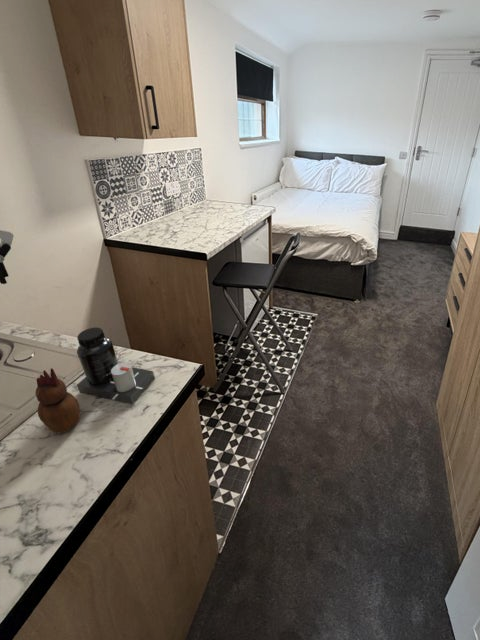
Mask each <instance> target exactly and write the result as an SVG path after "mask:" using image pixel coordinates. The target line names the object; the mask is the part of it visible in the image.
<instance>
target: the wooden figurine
mask: <svg viewBox="0 0 480 640" xmlns="http://www.w3.org/2000/svg"><path fill="white" fill-rule="evenodd" d="M42 373H43V374H40V375H39V376H38V377H37V378H36V386H37V387H36V389H35V397H36V400H37V401H38V406H37V415H38V418H39V420H40V421H41V422H42V424H43V425H44V426H45V427H46V428H47V429H49V430H51V431H52V432H53V433H57V434H60V433H61V434H62V433H66V432H68V431H70V430H72V429H73V428H75V427H76V426H77V424H78V422H79V421H80V416H81V406H80V402H79V401H78V399H77V398H76V397H75V396H74V395H73V393H70V392H68V389H67V386H66V384H65V382H64V381H63V380H62V379H60V378H58V377H57V373H56V372H55V370H54V368H50V375H49V374H48V372H47V371H46V370H42Z"/></svg>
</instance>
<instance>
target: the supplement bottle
mask: <svg viewBox="0 0 480 640" xmlns="http://www.w3.org/2000/svg"><path fill="white" fill-rule="evenodd" d="M76 338H77V341H78V347H77V349H76V354H77V358H78V360H79V362H80V365H81V367H82V370H83V373H84V375H85V377H86V378H87V380H88V382H89V383H91V384H94V385H100V384H105V383H107V382H109V381H111V380H113V377H112V374H111V370H112V368H113V367H114V366H115V365H117V364H119V363H120V362H119V360H118V358H117V354H116V351H115V348H114V345H113V342H112V340H111V339H110V338H109V337H107V336H106V334H105V333H104V331H103V328H101V327H96V326H95V327H90V328H86V329H84V330H83V331H81V332H79V333H78V335H77V337H76Z"/></svg>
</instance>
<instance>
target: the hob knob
mask: <svg viewBox="0 0 480 640" xmlns="http://www.w3.org/2000/svg"><path fill="white" fill-rule="evenodd" d="M118 363H119V364H117V365H115V366H114V367H113V368H112V370H111V374H112V377H113V380H114V383H115V386H116V389H117V391H119V392H126V391H129V390H131V389H132V388H133V387H134V386H135V384H136V381H135V377H134V373H133V370H132V367H133V366H132V364H131V363H130V362H127V361H125V362H124V361H123V362H118Z"/></svg>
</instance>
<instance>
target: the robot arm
mask: <svg viewBox="0 0 480 640" xmlns="http://www.w3.org/2000/svg"><path fill="white" fill-rule="evenodd" d="M13 240H14V234H13V233H12V232H10V231H7V230H2V229H0V284H1V285H7V284H8V281H7V279H6V278H8V277H9V273H8V270H7V269H6V266H5V263H4V261H5V258H6V257H7V255H8V254H9V252H10V251H11V249H12V244H13Z"/></svg>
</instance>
